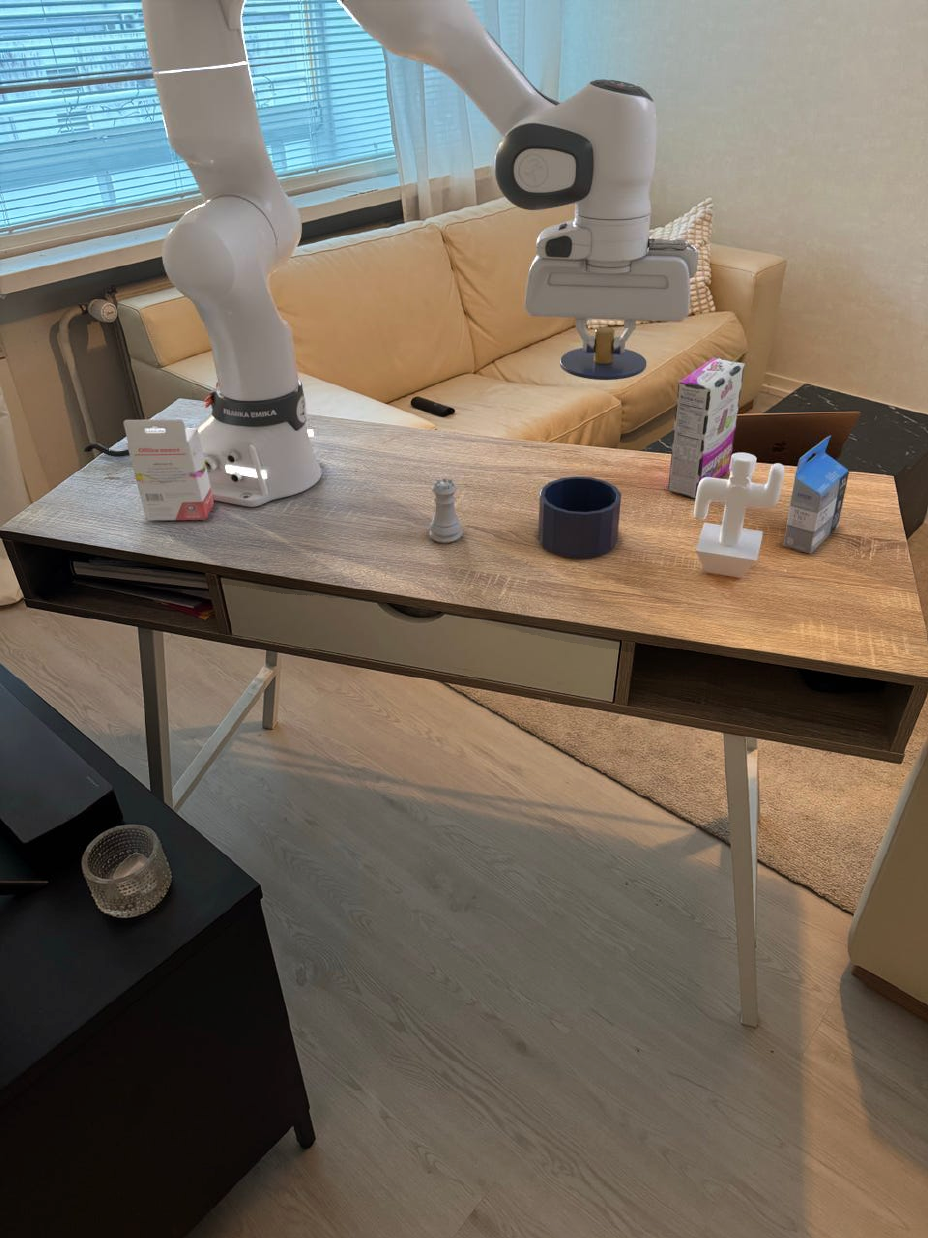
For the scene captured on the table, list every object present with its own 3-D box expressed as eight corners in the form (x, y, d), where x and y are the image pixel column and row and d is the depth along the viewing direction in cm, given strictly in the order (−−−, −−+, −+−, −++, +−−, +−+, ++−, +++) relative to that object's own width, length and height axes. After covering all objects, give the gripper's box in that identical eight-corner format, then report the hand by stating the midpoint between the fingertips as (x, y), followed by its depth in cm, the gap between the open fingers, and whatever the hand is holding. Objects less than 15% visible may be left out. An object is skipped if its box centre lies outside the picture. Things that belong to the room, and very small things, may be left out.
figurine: (691, 545, 118) (707, 437, 110) (767, 558, 116) (789, 448, 107) (682, 574, 113) (697, 463, 104) (761, 588, 110) (783, 474, 102)
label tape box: (810, 555, 116) (830, 466, 109) (779, 545, 118) (797, 457, 111) (838, 528, 121) (859, 442, 114) (808, 518, 123) (827, 433, 116)
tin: (534, 555, 117) (535, 510, 114) (543, 517, 126) (545, 474, 122) (614, 562, 116) (618, 516, 112) (619, 522, 124) (622, 479, 120)
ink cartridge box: (215, 503, 130) (195, 405, 122) (206, 520, 126) (185, 420, 118) (156, 504, 131) (132, 406, 122) (145, 521, 127) (119, 421, 118)
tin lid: (555, 382, 115) (556, 342, 112) (564, 352, 124) (566, 314, 121) (644, 386, 113) (648, 346, 110) (647, 356, 122) (650, 317, 119)
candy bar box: (698, 462, 138) (713, 355, 129) (730, 471, 136) (747, 362, 126) (664, 491, 131) (677, 380, 121) (696, 500, 128) (712, 388, 119)
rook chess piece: (459, 546, 120) (457, 491, 115) (425, 543, 121) (423, 488, 116) (466, 529, 123) (464, 475, 119) (433, 526, 124) (431, 472, 119)
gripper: (700, 233, 110) (686, 347, 118) (530, 229, 113) (528, 340, 121) (700, 246, 105) (686, 364, 113) (523, 242, 108) (521, 357, 116)
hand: (603, 352), depth 117 cm, fingers closed on tin lid, 2 cm apart
